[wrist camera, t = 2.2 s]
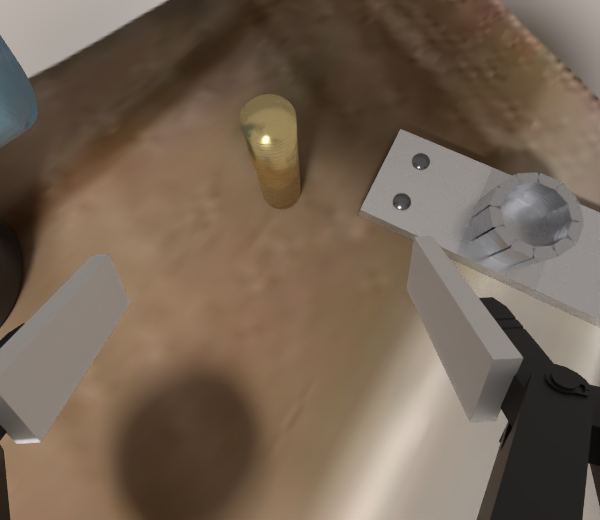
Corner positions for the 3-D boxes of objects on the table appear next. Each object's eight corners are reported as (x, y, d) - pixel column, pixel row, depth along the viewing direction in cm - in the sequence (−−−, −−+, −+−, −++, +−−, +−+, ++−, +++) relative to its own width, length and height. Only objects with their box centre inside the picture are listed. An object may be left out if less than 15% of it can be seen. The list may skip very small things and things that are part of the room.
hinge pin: (256, 199, 32) (229, 130, 21) (274, 168, 32) (256, 86, 22) (290, 215, 31) (279, 153, 20) (307, 183, 32) (305, 107, 21)
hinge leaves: (357, 215, 31) (365, 196, 27) (396, 138, 33) (410, 107, 28) (628, 340, 28) (687, 341, 24) (656, 248, 30) (716, 233, 25)
